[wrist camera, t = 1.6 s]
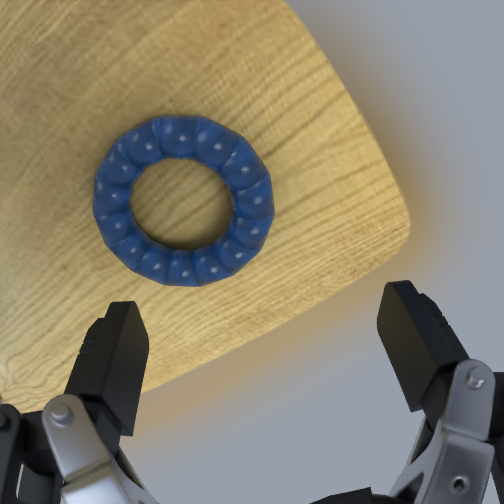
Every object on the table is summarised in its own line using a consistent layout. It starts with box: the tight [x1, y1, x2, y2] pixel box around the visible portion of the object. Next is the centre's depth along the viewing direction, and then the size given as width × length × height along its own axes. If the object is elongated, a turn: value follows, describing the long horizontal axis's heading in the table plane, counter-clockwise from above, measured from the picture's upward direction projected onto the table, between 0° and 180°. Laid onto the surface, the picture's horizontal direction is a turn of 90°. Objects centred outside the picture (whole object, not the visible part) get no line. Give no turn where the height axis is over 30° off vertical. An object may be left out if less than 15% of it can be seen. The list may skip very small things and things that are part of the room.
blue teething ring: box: [92, 116, 275, 287], centre depth 17 cm, size 10×10×2 cm
